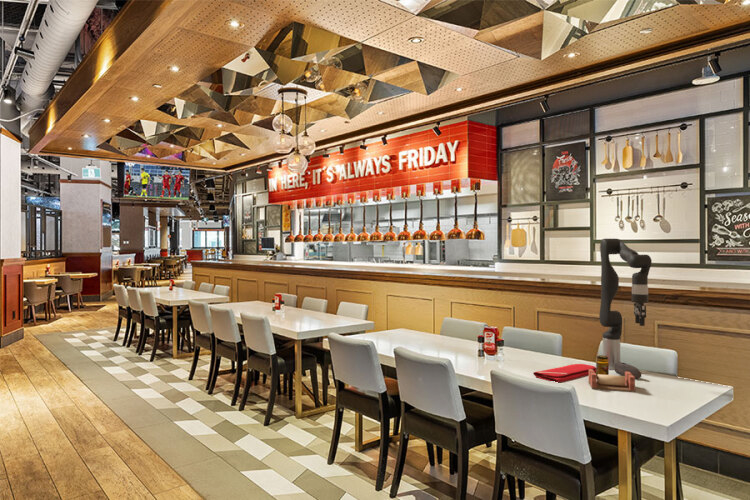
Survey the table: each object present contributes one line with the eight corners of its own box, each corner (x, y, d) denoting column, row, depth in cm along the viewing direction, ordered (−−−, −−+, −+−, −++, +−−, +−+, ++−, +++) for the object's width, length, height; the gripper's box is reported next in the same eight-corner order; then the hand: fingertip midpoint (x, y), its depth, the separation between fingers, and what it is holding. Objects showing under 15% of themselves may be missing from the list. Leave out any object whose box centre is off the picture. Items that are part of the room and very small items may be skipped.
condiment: (608, 381, 250) (608, 358, 250) (591, 378, 254) (591, 356, 254) (609, 377, 256) (609, 355, 256) (592, 375, 260) (592, 353, 260)
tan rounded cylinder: (623, 384, 239) (623, 374, 239) (625, 387, 234) (625, 377, 234) (596, 382, 242) (596, 373, 242) (598, 385, 238) (598, 375, 238)
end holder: (588, 382, 247) (588, 369, 247) (629, 385, 241) (629, 371, 241) (592, 389, 235) (592, 374, 235) (635, 392, 230) (634, 377, 230)
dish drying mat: (601, 372, 269) (601, 366, 269) (558, 384, 245) (558, 377, 245) (576, 367, 282) (576, 360, 282) (532, 377, 258) (532, 370, 258)
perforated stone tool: (644, 380, 252) (644, 367, 252) (637, 381, 250) (637, 367, 250) (620, 373, 266) (620, 360, 266) (613, 374, 264) (613, 361, 264)
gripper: (651, 294, 239) (651, 327, 239) (644, 292, 252) (644, 322, 252) (635, 294, 241) (635, 326, 241) (628, 291, 254) (628, 322, 254)
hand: (639, 324), depth 246 cm, fingers open, 8 cm apart
